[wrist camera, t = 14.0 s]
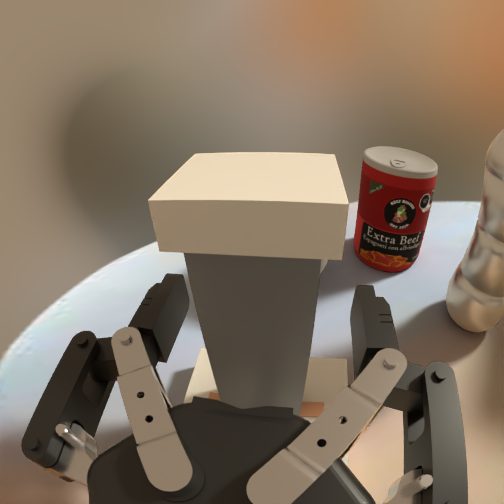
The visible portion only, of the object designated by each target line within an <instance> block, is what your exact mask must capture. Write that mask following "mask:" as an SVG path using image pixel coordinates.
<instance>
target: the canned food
mask: <svg viewBox="0 0 504 504" xmlns="http://www.w3.org/2000/svg"><path fill="white" fill-rule="evenodd" d="M437 168H438V167H437V165H436V163H435V162H434V161H433V160H431V159H430V158H428V157H426V156H424V155H422V154H420V153H417V152H414V151H411V150H407V149H403V148H397V147H387V146H382V147H381V146H380V147H372V148H369V149H367V150H365V151H364V156H363V163H362V173H361V183H360V193H359V202H358V211H357V220H356V227H355V235H354V248H355V252H356V254H357V256H358V257H359V258H360V259H361V261H363V262H364V263H365V264H367V265H369V266H370V267H372V268H375V269H378V270H381V271H387V272H397V271H403V270H405V269H408V268H409V267H411V266H412V264H413V263H414V262H415V260H416V259H417V257H418V254H419V251H420V247H421V244H422V240H423V236H424V232H425V229H426V225H427V220H428V216H429V212H430V208H431V203H432V199H433V194H434V189H435V184H436V177H437Z"/></svg>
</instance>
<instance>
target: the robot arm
mask: <svg viewBox="0 0 504 504" xmlns="http://www.w3.org/2000/svg"><path fill="white" fill-rule="evenodd" d="M188 308H189V296H188V292H187V288H186V284H185V280H184V276H183V275H182V274H169V273H167V274H166V275H165V277H164V279H163V280H162V282H161V283H156V284H155V285H154V286H153V287H151V288H150V289H149V290H148V292H147V294H146V295H145V298H144V299H143V301H142V302H141V305H140V306H139V308H138V309H137V311H136V313H135V315H134V317H133V318H132V320H131V322H130V324H129V325H128V327H124V328H122V329H120V330H118V331H117V332H116V333H115V334H114V335H113V337H108V338H98V339H97V338H96V336H95V335H94V333H92V332H91V331H82V332H80V333H78V334H76V335H75V336H74V337H73V338H72V340H71V342H70V343H69V345H68V347H67V349H66V350H65V352H64V354H63V356H62V358H61V360H60V362H59V363H58V365H57V367H56V369H55V371H54V373H53V375H52V377H51V379H50V381H49V383H48V385H47V387H46V389H45V391H44V393H43V395H42V397H41V399H40V401H39V403H38V405H37V407H36V410H35V412H34V414H33V416H32V418H31V421H30V423H29V425H28V427H27V430H26V432H25V434H24V437H23V439H22V444H21V446H22V451H23V453H24V455H25V456H26V457H27V458H29V459H30V460H32V461H33V462H35V463H36V464H37V465H38V466H40V467H41V468H43V469H45V470H46V471H48V472H50V473H51V474H53V475H55V476H58V477H60V478H62V479H63V480H65V481H68V482H72V481H76V482H79V483H81V484H83V485H86V486H88V492H89V504H376V503H375V501H374V499H373V498H372V496H371V495H370V494H369V493H368V491H367V490H366V489H365V488H364V486H363V485H362V484H361V483H360V482H359V480H358V479H357V478H356V477H355V475H354V474H353V473H352V472H351V470H350V469H349V468H348V467H347V465H346V464H345V463H344V462H343V460H342V459H343V458H344V456H345V455H346V454H347V453H348V452H349V451H350V449H351V448H352V447H353V446H354V445H355V443H356V442H357V441H358V439H359V438H360V437H361V436H362V434H363V433H364V432H365V430H366V429H367V428H368V427H369V425H370V424H371V423H372V421H373V420H374V419H375V417H376V416H377V415H378V413H379V412H380V411H381V409H382V408H383V407H384V406H386V407H389V408H393V409H397V410H401V411H403V425H404V475H403V476H402V477H401V478H399V479H398V480H396V481H395V482H394V483H393V484H392V485H391V487H390V489H389V492H388V496H387V498H386V500H385V501H384V503H383V504H468V481H467V461H466V449H465V439H464V430H463V422H462V414H461V408H460V401H459V395H458V390H457V384H456V379H455V374H454V371H453V369H452V368H451V367H450V366H449V365H448V364H446V363H444V362H441V361H435V362H432V363H430V364H429V365H428V366H427V367H424V366H420V365H416V364H413V363H411V362H409V361H407V360H406V358H405V356H404V355H403V354H402V353H401V352H400V351H399V348H398V342H397V337H396V333H395V328H394V323H393V319H392V316H391V310H390V306H389V304H388V303H387V301H386V300H385V299H384V297H376V296H375V291H374V287H373V285H357V286H356V289H355V294H354V299H353V303H352V308H351V315H350V324H351V335H352V347H353V362H354V379H355V381H354V382H353V383H352V384H351V385H350V386H349V385H348V386H346V387H345V388H344V389H343V390H342V391H341V392H340V394H339V395H338V396H337V397H336V398H335V399H334V400H333V401H332V402H331V404H330V405H329V406H328V407H327V408H326V409H325V410H324V411H323V412H322V413H321V414H320V415H319V416H318V417H317V418H316V419H315V420H314V421H313V422H312V423H311V422H309V421H308V420H306V419H304V418H302V417H300V416H297V415H294V414H293V408H289V407H276V406H263V407H255V408H246V409H240V408H237V407H234V406H232V405H229V404H227V403H224V402H221V401H219V400H215V399H209V398H203V397H197V396H193V400H192V402H190V403H184V404H180V405H177V406H174V407H172V405H171V403H170V400H169V398H168V396H167V393H166V391H165V389H164V386H163V384H162V381H161V379H160V376H159V374H158V371H157V369H156V365H157V363H158V361H159V362H165V363H166V362H167V360H168V357H169V355H170V353H171V350H172V348H173V345H174V343H175V340H176V338H177V335H178V333H179V331H180V328H181V326H182V323H183V321H184V319H185V316H186V314H187V312H188ZM115 381H118V384H119V388H120V392H121V395H122V399H123V402H124V406H125V409H126V412H127V415H128V419H129V422H130V425H131V428H132V431H133V434H131V435H130V436H128V437H127V438H125V439H124V440H122V441H121V442H119V443H118V444H116V445H115V446H113V447H111V448H110V449H108V450H107V451H105V452H104V453H102V454H100V455H99V456H98V457H97V443H96V441H95V439H94V436H95V433H96V430H97V427H98V425H99V422H100V419H101V417H102V414H103V411H104V409H105V406H106V404H107V401H108V398H109V396H110V393H111V391H112V388H113V386H114V383H115ZM96 457H97V458H96Z"/></svg>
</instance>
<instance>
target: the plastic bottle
mask: <svg viewBox="0 0 504 504" xmlns="http://www.w3.org/2000/svg"><path fill="white" fill-rule="evenodd" d="M485 165H486V167H485V174H484V185H483V195H482V202H481V206H480V211H479V215H478V220H477V223H476V227H475V231H474V234H473V236H472V239H471V241H470V243H469V246H468V248H467V250H466V253H465V255H464V257H463V259H462V261H461V262H460V264H459V265H458V267H457V268H456V270H455V272H454V274H453V276H452V278H451V280H450V282H449V285H448V290H447V294H446V305H447V309H448V312H449V314H450V316H451V318H452V319H453V321H454V322H455V323H456V324H457V325H459V326H460V327H462V328H463V329H465V330H468V331H471V332H483V331H486V330H488V329H491V328H492V327H494V326H495V325H496V324H497V322H498V321H499V320H500V319H501V318H502V316H503V315H504V129H503V130H502V131H501V132H500V133H499V134H498V135H497V137H496V138H495V139H494V140H493V141H492V143H491V145H490V147H489V149H488V151H487V155H486V162H485Z"/></svg>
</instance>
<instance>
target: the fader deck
mask: <svg viewBox="0 0 504 504" xmlns="http://www.w3.org/2000/svg"><path fill="white" fill-rule="evenodd" d="M346 386H348V374H347V359H344V358H313V357H309V364H308V370H307V376H306V383H305V389H304V394H303V400H302V406H301V411H300V417H302V418H304V419H306V420H308V421H309V422H311V423H312V422H313V421H314V420H315V419H316V418H317V417H318V416H319V415H320V414H321V413H322V412H323V411H324V410H325V409H326V408H327V407H328V406H329V405H330V404H331V402H332V401H333V400H334V399H335V398H336V397H337V396H338V395H339V394H340V392H341V391H342V390H343V389H344V388H345V387H346ZM193 396H197V397H203V398H209V399H215V400H219V401H220V397H219V394H218V390H217V387H216V383H215V380H214V376H213V373H212V369H211V365H210V361H209V358H208V354H207V350H206V348H201V350H200V353H199V356H198V359H197V362H196V365H195V368H194V371H193V374H192V377H191V380H190V383H189V386H188V389H187V392H186V395H185V398H184V401H183V404H184V403H190V402H192V400H193ZM342 460H343V462H344V463H345V464H346V465H347V467H348V453H347V454H346V455H345V456H344V458H343V459H342Z"/></svg>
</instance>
